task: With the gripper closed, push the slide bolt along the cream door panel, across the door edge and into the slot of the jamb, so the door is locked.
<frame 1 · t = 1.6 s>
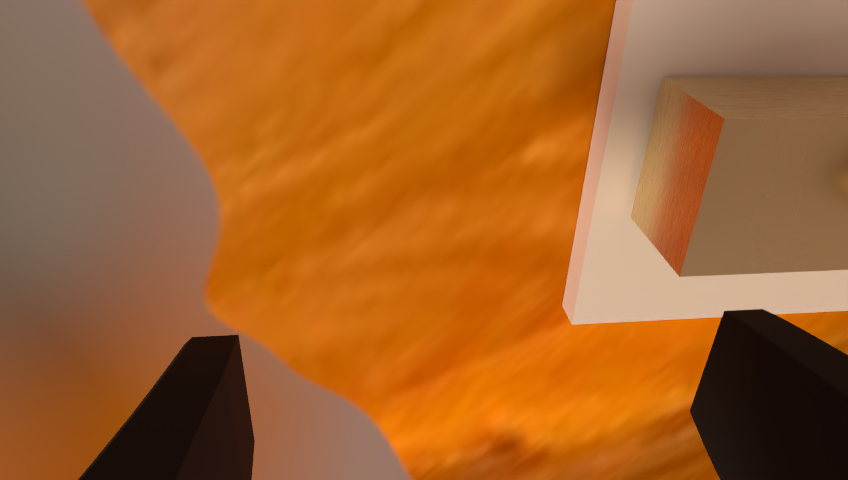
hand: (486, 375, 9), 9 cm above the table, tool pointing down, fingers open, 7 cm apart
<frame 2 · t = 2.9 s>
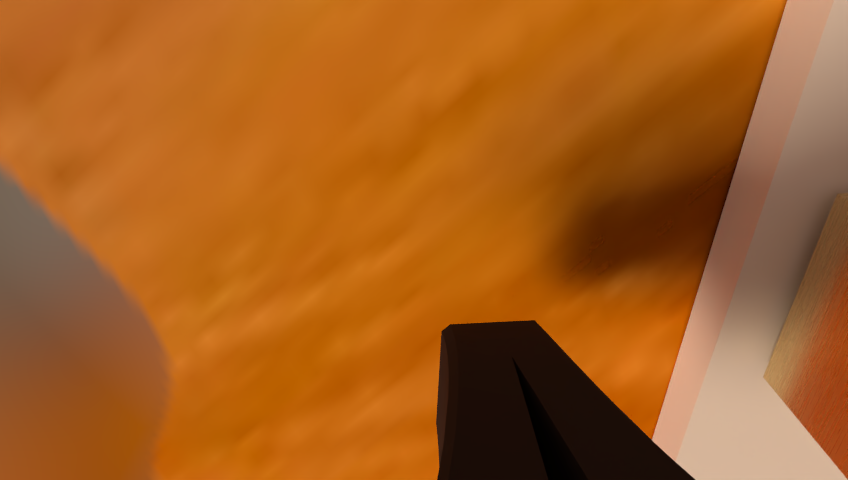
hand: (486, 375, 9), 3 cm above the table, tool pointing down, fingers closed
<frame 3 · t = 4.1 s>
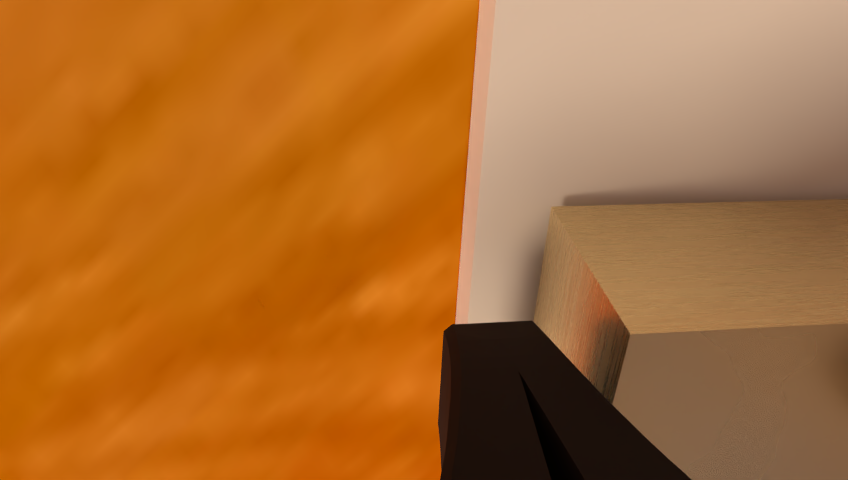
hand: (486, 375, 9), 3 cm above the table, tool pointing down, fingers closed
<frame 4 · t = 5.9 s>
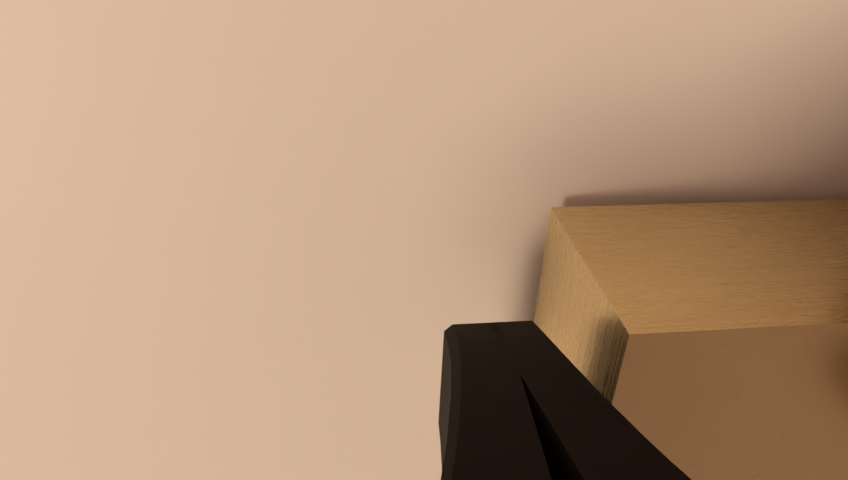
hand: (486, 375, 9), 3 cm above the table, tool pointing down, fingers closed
door panel: (402, 274, 11), on the table
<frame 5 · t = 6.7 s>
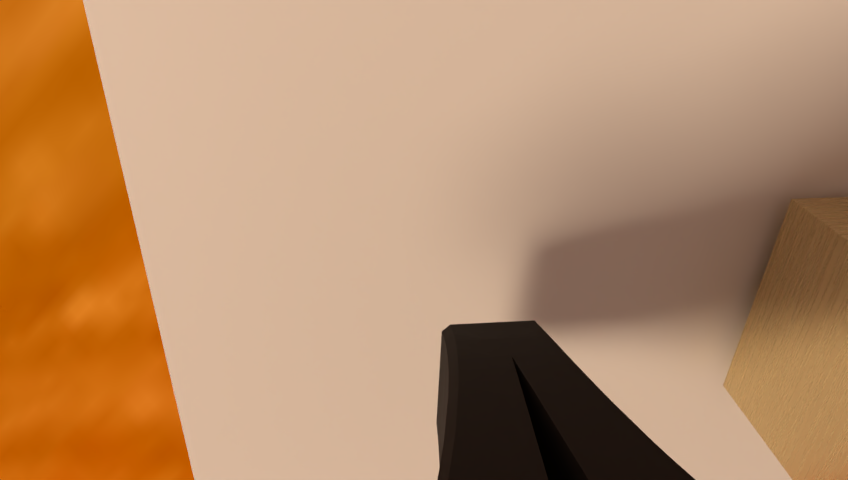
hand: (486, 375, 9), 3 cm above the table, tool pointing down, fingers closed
door panel: (611, 264, 12), on the table
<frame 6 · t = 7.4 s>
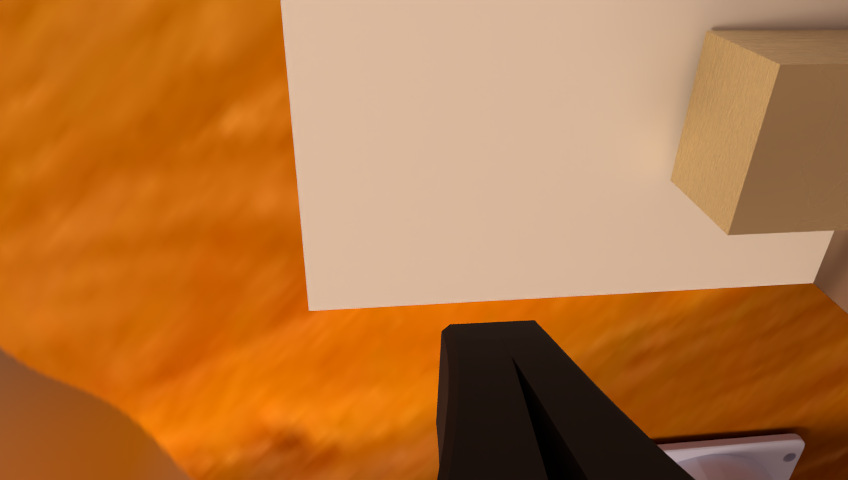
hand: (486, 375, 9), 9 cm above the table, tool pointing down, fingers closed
door panel: (591, 95, 17), on the table
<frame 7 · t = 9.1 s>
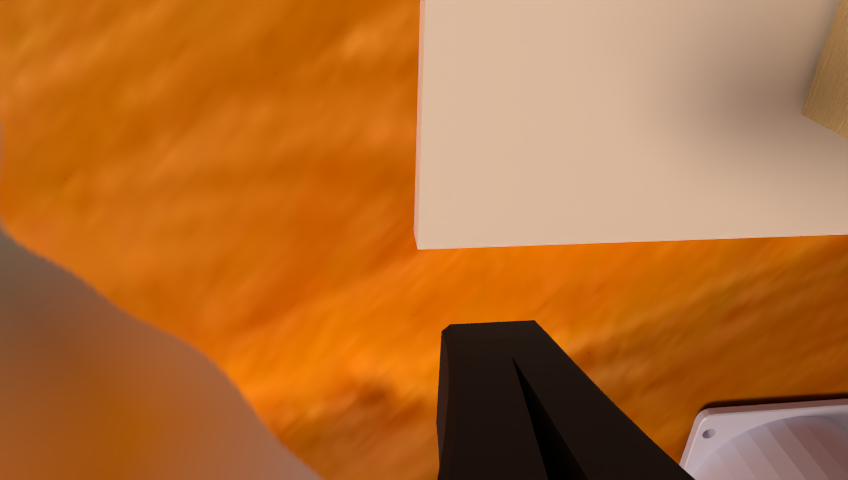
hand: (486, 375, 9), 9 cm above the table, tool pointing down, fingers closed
door panel: (721, 24, 17), on the table
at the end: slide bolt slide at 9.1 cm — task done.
